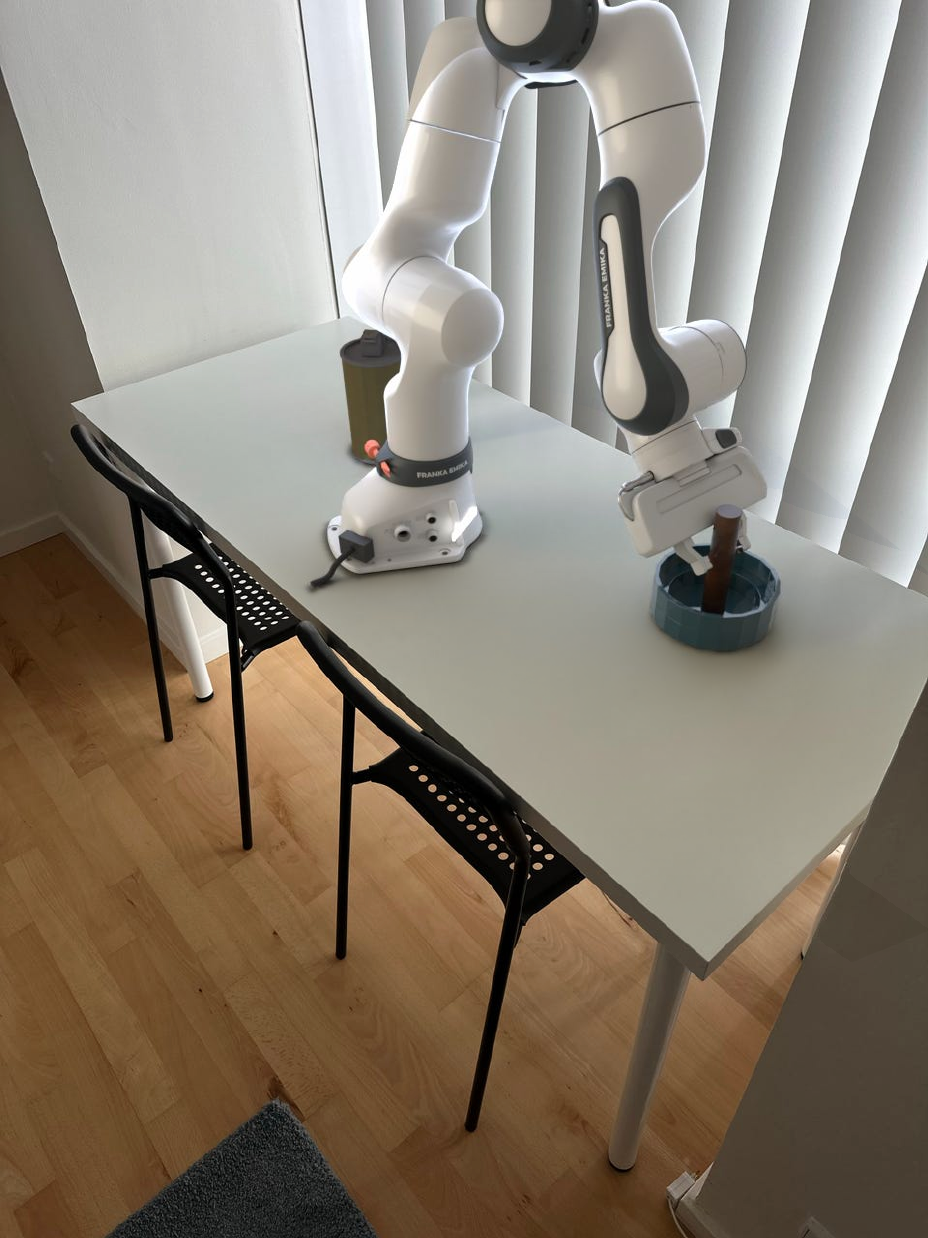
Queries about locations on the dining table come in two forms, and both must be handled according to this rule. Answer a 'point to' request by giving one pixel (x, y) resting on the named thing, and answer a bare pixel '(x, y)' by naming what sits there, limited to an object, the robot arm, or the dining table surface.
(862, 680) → the dining table surface
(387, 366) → the canister
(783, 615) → the dining table surface
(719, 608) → the stick
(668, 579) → the bowl
